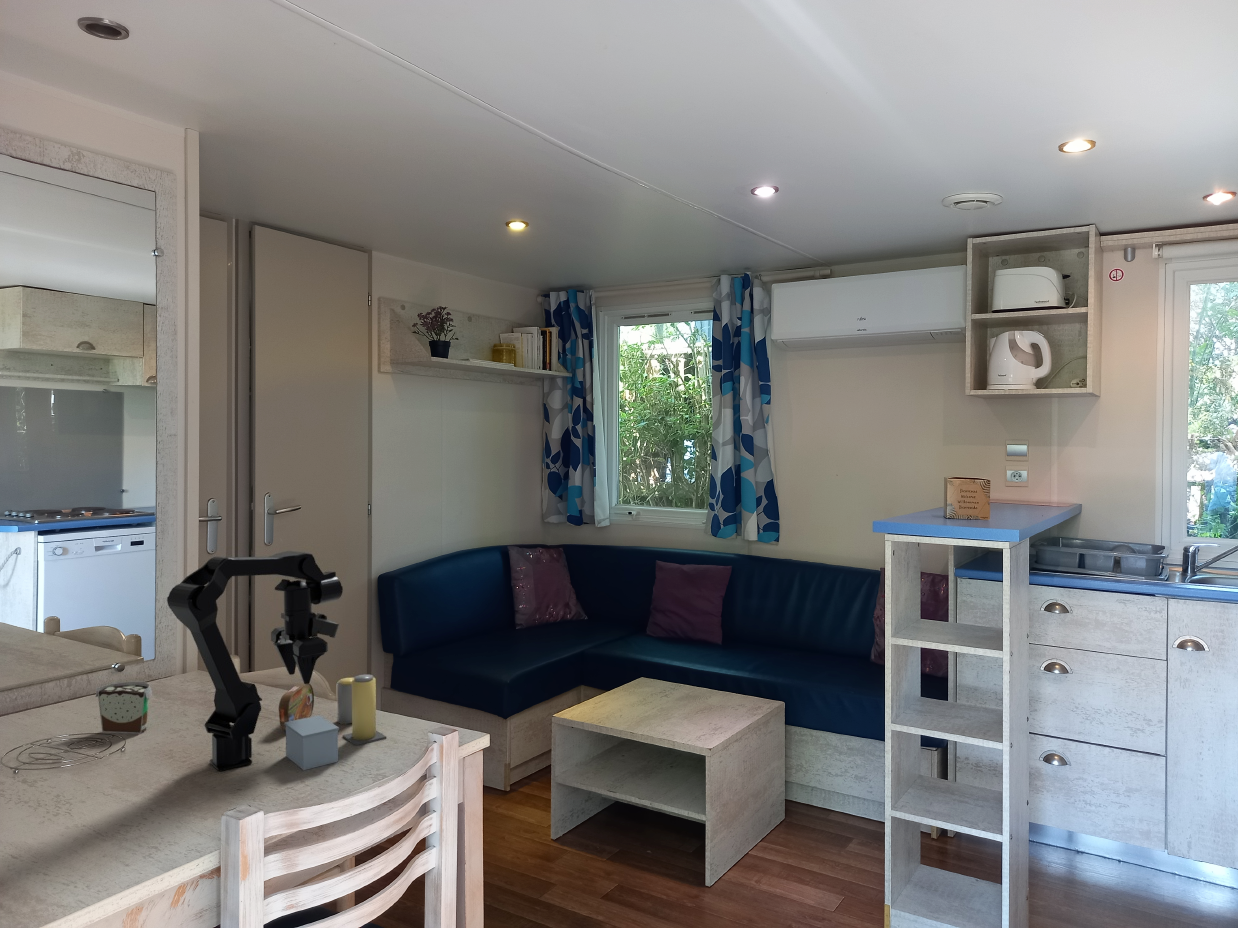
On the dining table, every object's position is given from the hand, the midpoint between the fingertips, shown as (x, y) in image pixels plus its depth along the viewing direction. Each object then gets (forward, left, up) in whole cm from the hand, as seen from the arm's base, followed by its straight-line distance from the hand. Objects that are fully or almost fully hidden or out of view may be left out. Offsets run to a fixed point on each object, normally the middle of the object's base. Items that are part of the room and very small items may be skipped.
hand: (299, 678), depth 188 cm
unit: (-3, -14, -13) cm, 19 cm away
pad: (+11, -9, -13) cm, 19 cm away
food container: (-27, +31, -13) cm, 43 cm away
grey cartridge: (+13, +4, -13) cm, 19 cm away
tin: (+3, +10, -13) cm, 17 cm away
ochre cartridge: (+11, -9, -13) cm, 19 cm away
